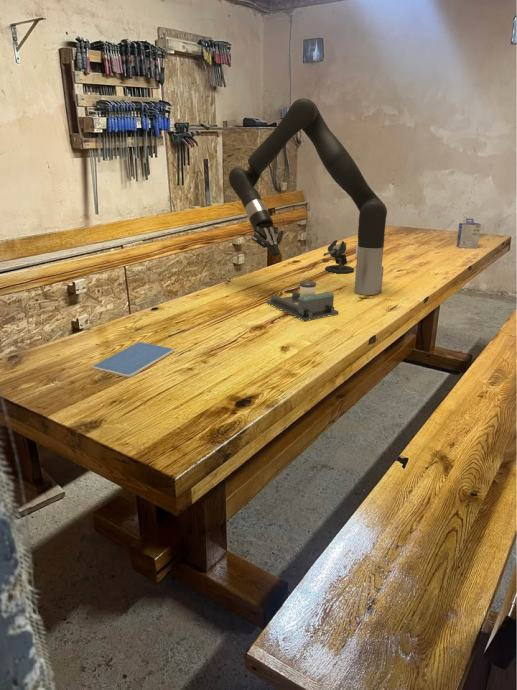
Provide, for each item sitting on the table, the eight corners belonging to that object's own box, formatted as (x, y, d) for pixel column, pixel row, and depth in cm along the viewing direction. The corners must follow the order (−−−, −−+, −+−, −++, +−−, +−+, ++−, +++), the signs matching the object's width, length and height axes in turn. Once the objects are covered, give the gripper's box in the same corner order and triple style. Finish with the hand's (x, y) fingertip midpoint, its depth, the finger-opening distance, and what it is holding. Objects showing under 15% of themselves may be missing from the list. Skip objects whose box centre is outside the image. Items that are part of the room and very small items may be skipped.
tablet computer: (130, 380, 131) (129, 375, 130) (90, 370, 136) (89, 365, 136) (176, 353, 147) (175, 348, 146) (139, 345, 152) (138, 340, 152)
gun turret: (312, 274, 226) (313, 243, 221) (333, 265, 241) (335, 236, 236) (339, 279, 219) (341, 247, 215) (359, 269, 235) (361, 239, 230)
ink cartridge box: (474, 246, 284) (478, 218, 279) (478, 248, 279) (482, 219, 273) (455, 246, 284) (459, 218, 279) (459, 248, 279) (463, 219, 274)
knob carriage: (309, 303, 184) (311, 279, 180) (320, 308, 179) (322, 283, 176) (293, 306, 180) (293, 282, 177) (303, 311, 175) (304, 286, 172)
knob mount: (299, 297, 194) (299, 279, 192) (338, 314, 177) (339, 294, 175) (266, 303, 188) (266, 285, 185) (303, 321, 170) (304, 301, 168)
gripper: (246, 210, 187) (265, 251, 182) (278, 207, 194) (297, 247, 189) (239, 223, 193) (257, 264, 188) (269, 220, 200) (288, 259, 195)
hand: (277, 255), depth 188 cm, fingers closed
